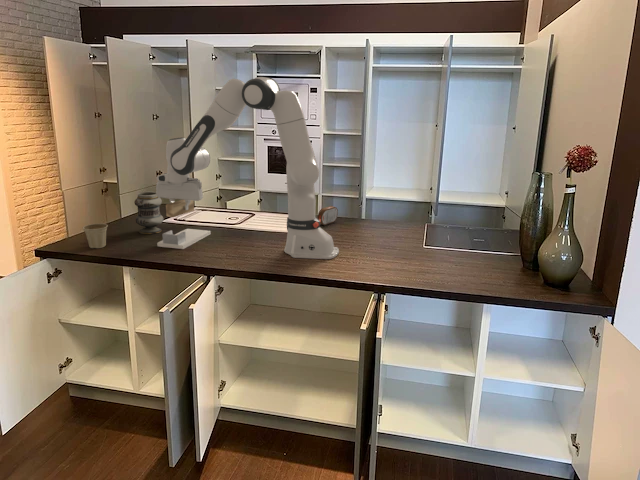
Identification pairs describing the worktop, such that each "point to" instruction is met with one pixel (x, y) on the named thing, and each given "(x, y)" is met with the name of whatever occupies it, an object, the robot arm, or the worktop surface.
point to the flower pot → (96, 235)
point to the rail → (178, 208)
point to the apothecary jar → (148, 212)
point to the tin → (327, 215)
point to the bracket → (182, 238)
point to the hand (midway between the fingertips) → (180, 209)
